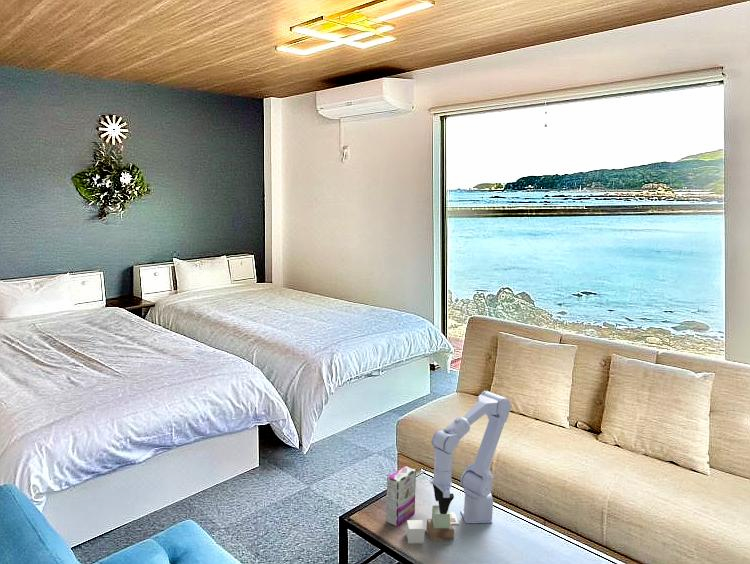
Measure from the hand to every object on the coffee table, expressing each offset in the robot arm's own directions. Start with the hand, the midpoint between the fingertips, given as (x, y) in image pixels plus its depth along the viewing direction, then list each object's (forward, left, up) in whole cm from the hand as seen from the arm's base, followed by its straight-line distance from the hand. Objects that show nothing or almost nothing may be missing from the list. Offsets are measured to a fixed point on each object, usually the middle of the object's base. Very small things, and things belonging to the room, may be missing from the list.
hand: (441, 506), depth 181 cm
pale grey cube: (+9, +3, -10) cm, 13 cm away
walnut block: (0, +1, -10) cm, 10 cm away
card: (-5, -8, -9) cm, 14 cm away
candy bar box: (+12, -9, -10) cm, 18 cm away
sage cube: (0, +1, -6) cm, 6 cm away
